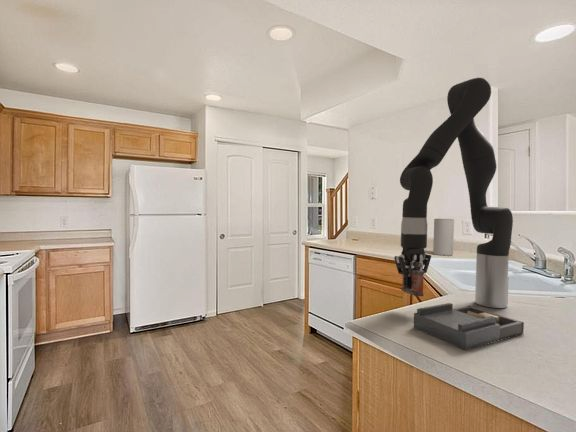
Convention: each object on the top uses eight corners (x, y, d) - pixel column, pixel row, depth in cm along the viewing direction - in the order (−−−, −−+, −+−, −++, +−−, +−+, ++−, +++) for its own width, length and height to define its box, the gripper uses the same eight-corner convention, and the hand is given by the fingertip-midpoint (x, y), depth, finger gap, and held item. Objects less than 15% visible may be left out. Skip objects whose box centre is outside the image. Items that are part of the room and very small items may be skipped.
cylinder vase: (434, 252, 235) (435, 218, 234) (453, 254, 228) (454, 219, 228) (432, 254, 224) (433, 218, 223) (452, 256, 217) (453, 219, 217)
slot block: (445, 320, 93) (446, 302, 93) (499, 340, 80) (500, 318, 80) (413, 327, 88) (414, 307, 87) (465, 350, 74) (466, 326, 74)
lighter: (398, 290, 103) (399, 259, 103) (407, 289, 104) (408, 258, 104) (417, 296, 96) (418, 263, 95) (426, 295, 97) (427, 262, 97)
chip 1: (473, 324, 90) (475, 315, 90) (487, 329, 86) (490, 320, 87) (464, 319, 88) (468, 310, 89) (479, 324, 85) (482, 315, 85)
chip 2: (475, 314, 91) (475, 323, 91) (490, 318, 87) (489, 328, 87) (484, 312, 92) (484, 321, 92) (499, 316, 89) (498, 325, 89)
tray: (469, 315, 98) (469, 306, 98) (523, 333, 85) (523, 322, 85) (445, 320, 93) (446, 310, 93) (499, 340, 80) (499, 328, 80)
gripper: (420, 230, 106) (418, 283, 106) (387, 231, 100) (386, 287, 100) (440, 232, 99) (438, 288, 100) (406, 233, 93) (404, 293, 93)
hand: (412, 287), depth 100 cm, fingers closed on lighter, 3 cm apart
